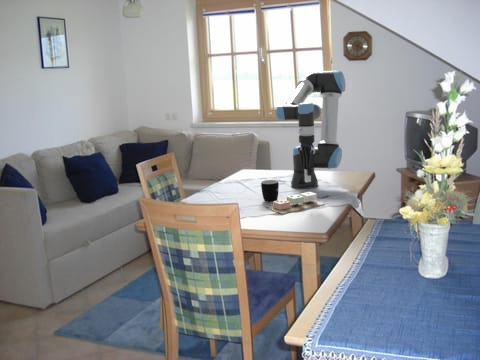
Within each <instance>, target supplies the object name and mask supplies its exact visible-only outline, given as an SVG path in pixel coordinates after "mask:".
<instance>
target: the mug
mask: <svg viewBox="0 0 480 360" xmlns="http://www.w3.org/2000/svg"><path fill="white" fill-rule="evenodd" d="M260 186H261V187H260V188H261V195H262V198H263V200H264V202H265V203H273V201H278V198H279V187H280V186H279V181H278V180H276V179H265V180H261V182H260Z"/></svg>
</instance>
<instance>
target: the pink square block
mask: <svg viewBox="0 0 480 360" xmlns="http://www.w3.org/2000/svg"><path fill="white" fill-rule="evenodd" d="M272 206H273V207H274V208H276V209H279V210H283V209H287V208H290V202H289V201H287V199H283V198H282V199H279V200H278V199H277V201H273V202H272Z"/></svg>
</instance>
